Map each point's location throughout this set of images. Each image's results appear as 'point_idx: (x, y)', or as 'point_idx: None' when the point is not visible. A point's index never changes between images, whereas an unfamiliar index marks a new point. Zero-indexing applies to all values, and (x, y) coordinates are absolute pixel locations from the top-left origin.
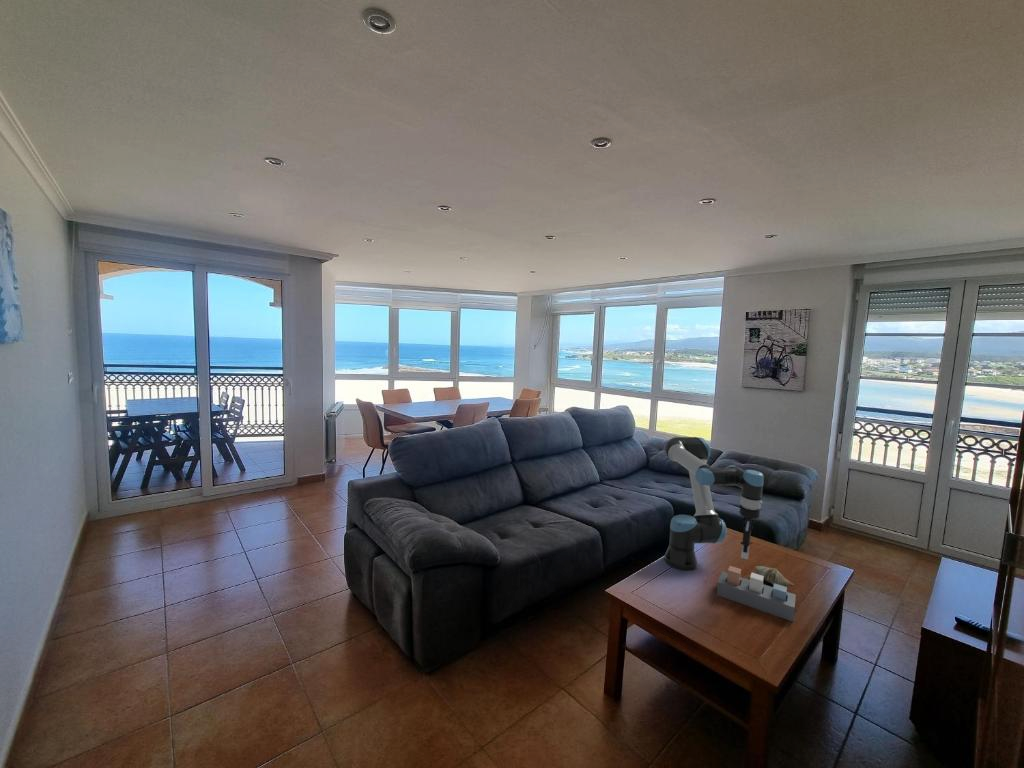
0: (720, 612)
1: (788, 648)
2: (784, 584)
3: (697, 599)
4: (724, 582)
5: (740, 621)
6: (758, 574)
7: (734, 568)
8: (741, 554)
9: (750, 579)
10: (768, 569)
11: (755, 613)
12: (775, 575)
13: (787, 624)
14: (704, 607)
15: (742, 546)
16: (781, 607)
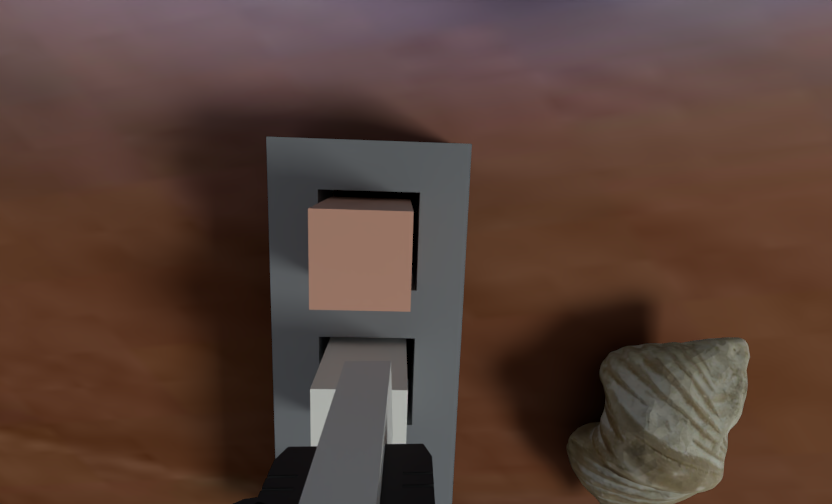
0: (109, 190)
1: (47, 501)
2: (596, 497)
3: (149, 38)
4: (296, 183)
5: (103, 297)
6: (405, 440)
7: (384, 256)
8: (337, 389)
9: (314, 382)
10: (673, 444)
11: (245, 356)
12: (625, 478)
13: (254, 490)
14: (89, 96)
15: (310, 481)
16: None
